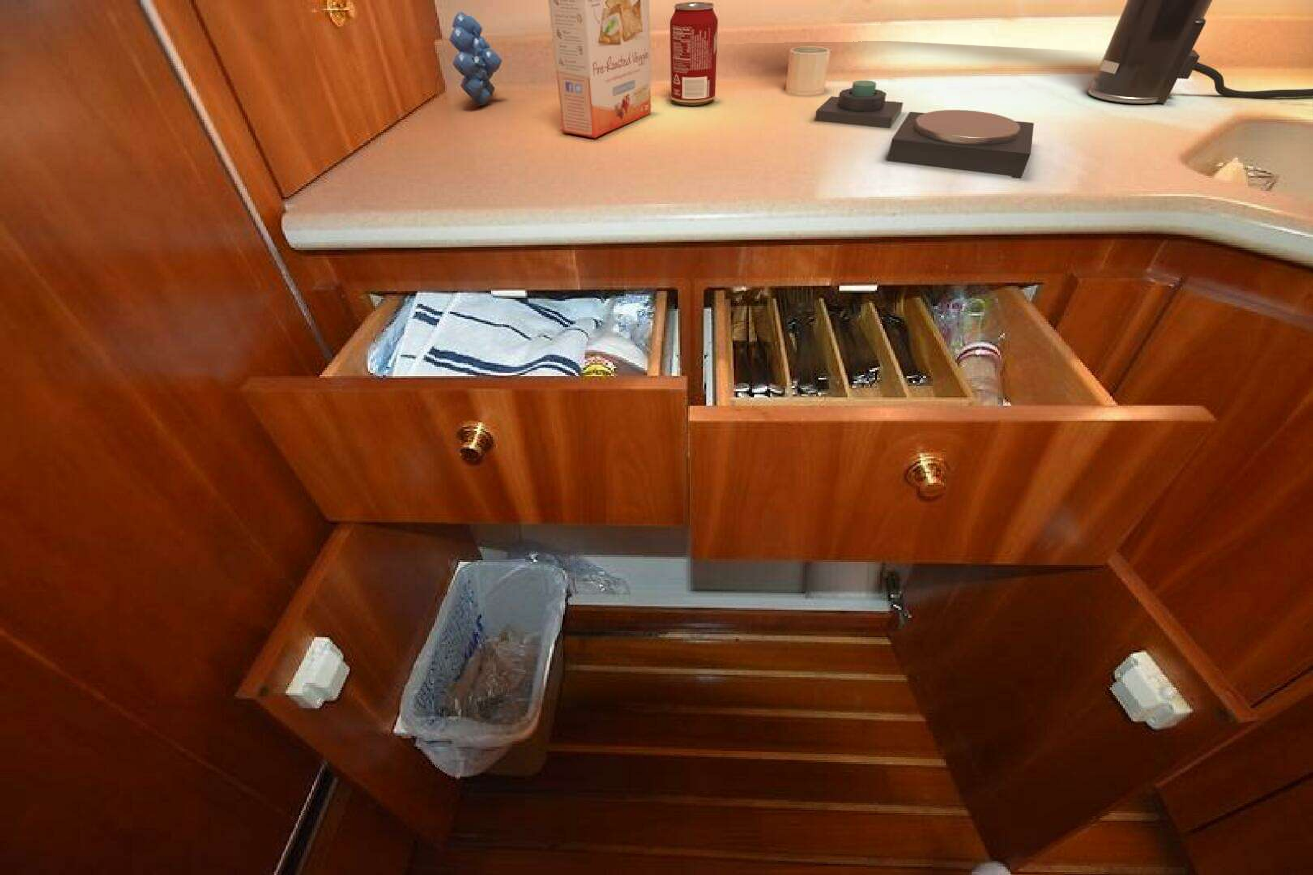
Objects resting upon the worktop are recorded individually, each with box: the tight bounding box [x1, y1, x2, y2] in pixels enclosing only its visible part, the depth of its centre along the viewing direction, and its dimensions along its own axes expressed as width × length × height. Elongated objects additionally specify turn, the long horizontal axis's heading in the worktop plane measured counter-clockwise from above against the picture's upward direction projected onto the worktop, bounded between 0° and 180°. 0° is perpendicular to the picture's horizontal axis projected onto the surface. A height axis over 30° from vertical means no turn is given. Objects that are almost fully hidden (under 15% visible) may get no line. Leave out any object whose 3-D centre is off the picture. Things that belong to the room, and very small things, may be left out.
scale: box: [886, 109, 1035, 179], centre depth 68 cm, size 14×12×3 cm
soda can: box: [669, 1, 719, 107], centre depth 85 cm, size 7×7×12 cm
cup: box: [785, 45, 831, 96], centre depth 90 cm, size 6×6×6 cm
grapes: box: [449, 11, 503, 107], centre depth 87 cm, size 12×7×12 cm, turn 177°
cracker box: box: [548, 0, 652, 139], centre depth 75 cm, size 14×6×21 cm, turn 148°
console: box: [814, 87, 904, 129], centre depth 80 cm, size 10×8×3 cm
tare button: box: [851, 80, 877, 97], centre depth 78 cm, size 3×3×2 cm
